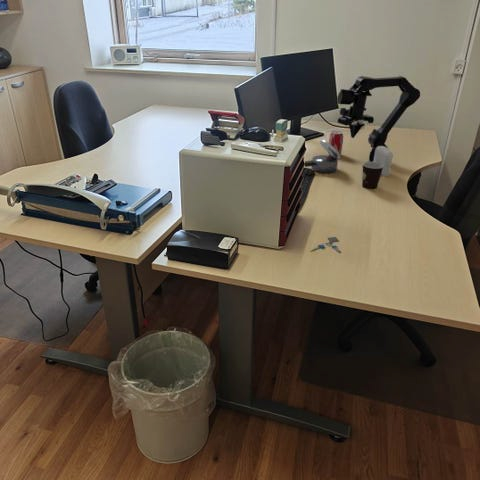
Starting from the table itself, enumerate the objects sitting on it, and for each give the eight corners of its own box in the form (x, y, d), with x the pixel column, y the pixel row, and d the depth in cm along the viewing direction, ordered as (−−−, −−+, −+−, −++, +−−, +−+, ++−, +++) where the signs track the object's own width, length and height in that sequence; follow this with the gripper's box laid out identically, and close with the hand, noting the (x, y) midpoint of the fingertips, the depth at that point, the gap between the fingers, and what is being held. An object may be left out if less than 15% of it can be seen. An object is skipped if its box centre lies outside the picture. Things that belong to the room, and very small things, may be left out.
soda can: (337, 157, 228) (340, 134, 222) (325, 155, 232) (327, 132, 226) (343, 154, 233) (346, 131, 227) (331, 151, 237) (333, 129, 231)
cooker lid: (329, 154, 217) (332, 150, 217) (343, 161, 208) (346, 157, 208) (315, 138, 210) (319, 134, 210) (329, 145, 201) (333, 141, 200)
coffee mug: (380, 191, 190) (384, 169, 185) (359, 189, 192) (363, 167, 187) (378, 181, 200) (382, 160, 195) (358, 179, 201) (362, 158, 197)
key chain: (330, 236, 155) (331, 234, 155) (352, 244, 151) (352, 241, 150) (309, 252, 146) (310, 249, 145) (331, 260, 141) (332, 258, 141)
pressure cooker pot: (327, 163, 220) (328, 154, 217) (341, 171, 210) (342, 161, 208) (295, 168, 213) (296, 158, 211) (308, 176, 204) (309, 166, 201)
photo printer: (390, 175, 207) (395, 150, 200) (382, 176, 205) (387, 150, 199) (378, 168, 215) (382, 143, 209) (370, 169, 214) (374, 144, 208)
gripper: (360, 100, 219) (354, 131, 226) (332, 102, 210) (327, 134, 217) (377, 105, 210) (370, 137, 218) (348, 107, 201) (342, 141, 209)
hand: (352, 137), depth 216 cm, fingers closed
